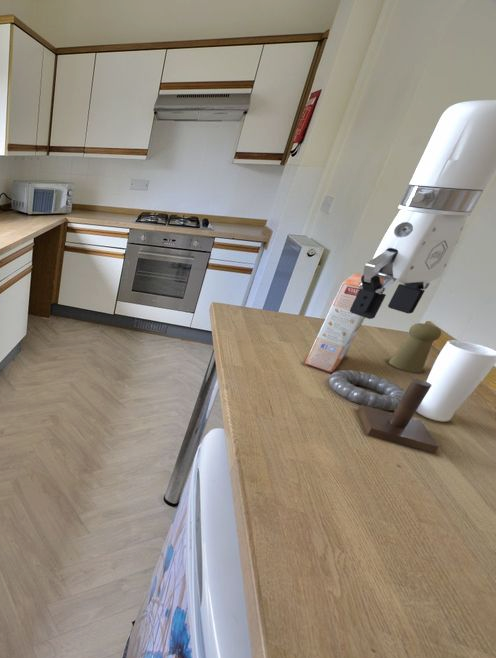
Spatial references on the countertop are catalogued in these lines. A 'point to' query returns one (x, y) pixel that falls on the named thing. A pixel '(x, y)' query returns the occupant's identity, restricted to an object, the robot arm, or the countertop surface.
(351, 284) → the cracker box
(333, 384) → the grey ridged ring
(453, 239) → the robot arm
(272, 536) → the countertop surface
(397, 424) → the post
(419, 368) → the olive pawn shaped figure
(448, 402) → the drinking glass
